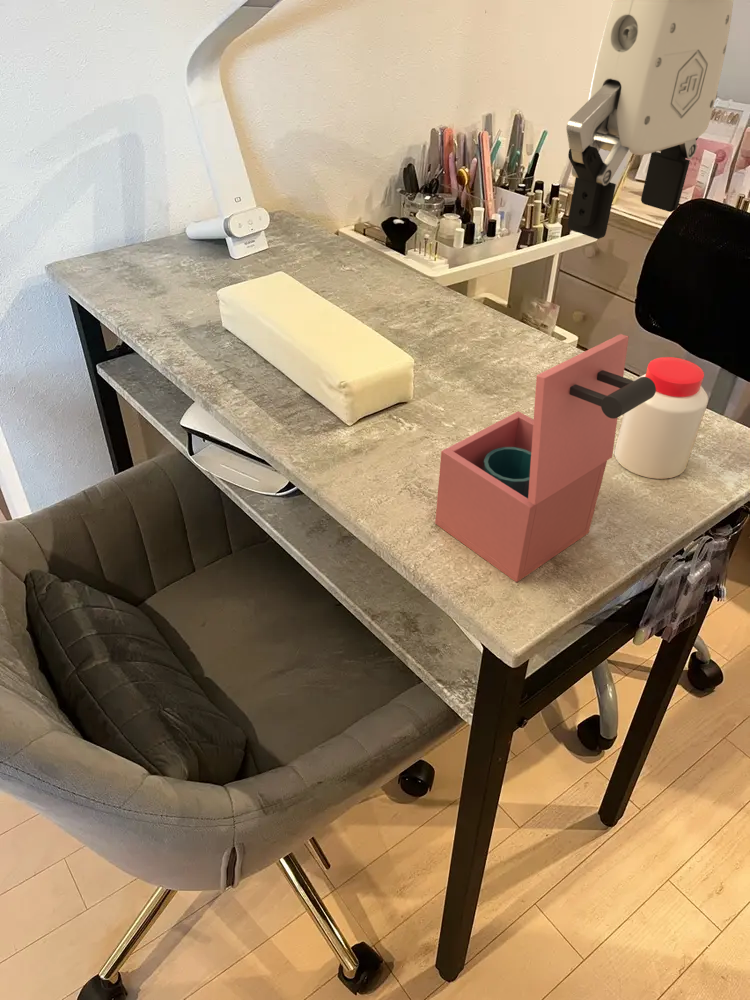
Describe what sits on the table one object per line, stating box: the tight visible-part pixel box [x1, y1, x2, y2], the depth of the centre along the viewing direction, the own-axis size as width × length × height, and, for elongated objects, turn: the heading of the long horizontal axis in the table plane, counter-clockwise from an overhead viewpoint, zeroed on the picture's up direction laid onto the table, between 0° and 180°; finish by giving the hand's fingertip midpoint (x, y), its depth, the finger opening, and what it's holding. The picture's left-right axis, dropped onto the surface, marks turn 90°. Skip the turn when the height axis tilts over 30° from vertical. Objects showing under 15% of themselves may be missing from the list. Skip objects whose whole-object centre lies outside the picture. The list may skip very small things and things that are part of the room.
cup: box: [483, 447, 531, 498], centre depth 73 cm, size 5×5×6 cm
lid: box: [528, 333, 656, 505], centre depth 61 cm, size 12×11×6 cm
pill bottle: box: [613, 356, 709, 480], centre depth 81 cm, size 8×8×11 cm
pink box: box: [434, 410, 608, 583], centre depth 72 cm, size 11×11×9 cm
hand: (623, 219), depth 61 cm, fingers open, 9 cm apart
